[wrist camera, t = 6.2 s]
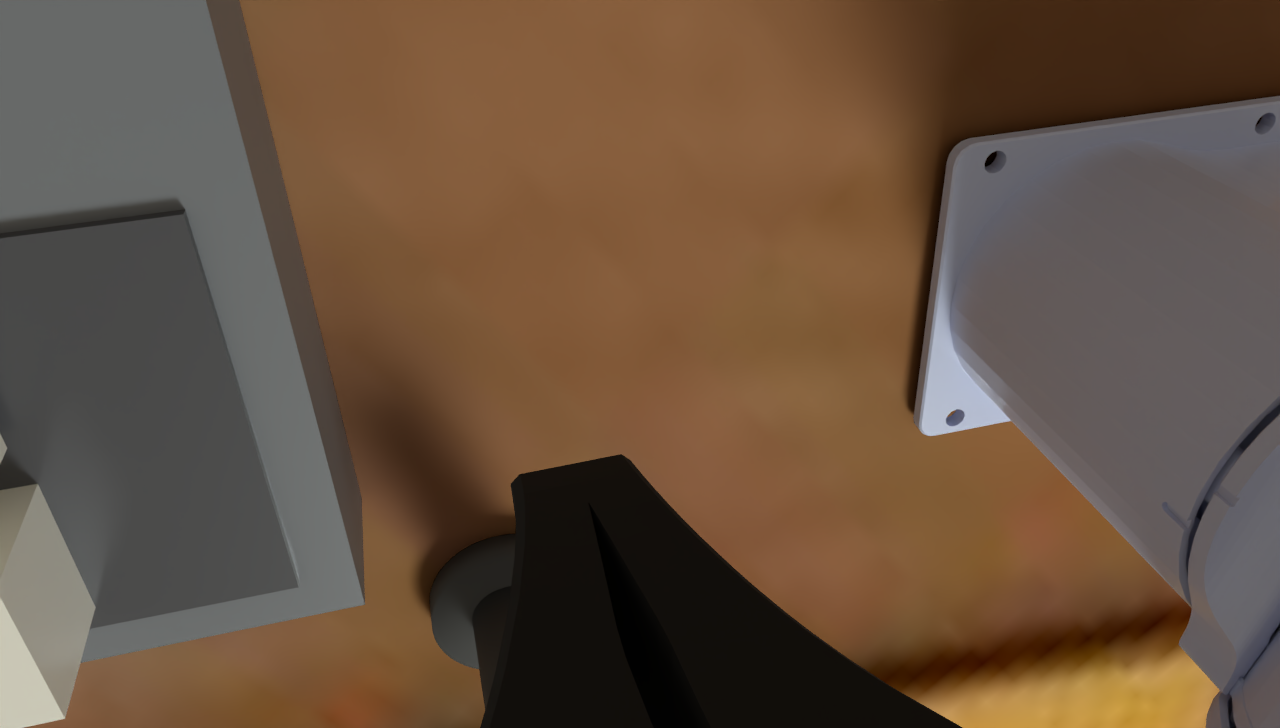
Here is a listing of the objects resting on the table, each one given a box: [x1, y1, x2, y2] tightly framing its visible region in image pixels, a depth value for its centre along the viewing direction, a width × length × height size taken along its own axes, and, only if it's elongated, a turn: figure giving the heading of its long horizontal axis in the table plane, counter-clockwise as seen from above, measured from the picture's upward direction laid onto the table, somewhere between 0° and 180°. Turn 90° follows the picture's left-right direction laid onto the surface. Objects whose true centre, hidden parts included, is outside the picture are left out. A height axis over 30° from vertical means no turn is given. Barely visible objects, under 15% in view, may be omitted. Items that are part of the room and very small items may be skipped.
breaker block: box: [0, 0, 365, 728], centre depth 17 cm, size 7×14×6 cm, turn 2°
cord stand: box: [430, 534, 516, 710], centre depth 24 cm, size 4×4×7 cm
